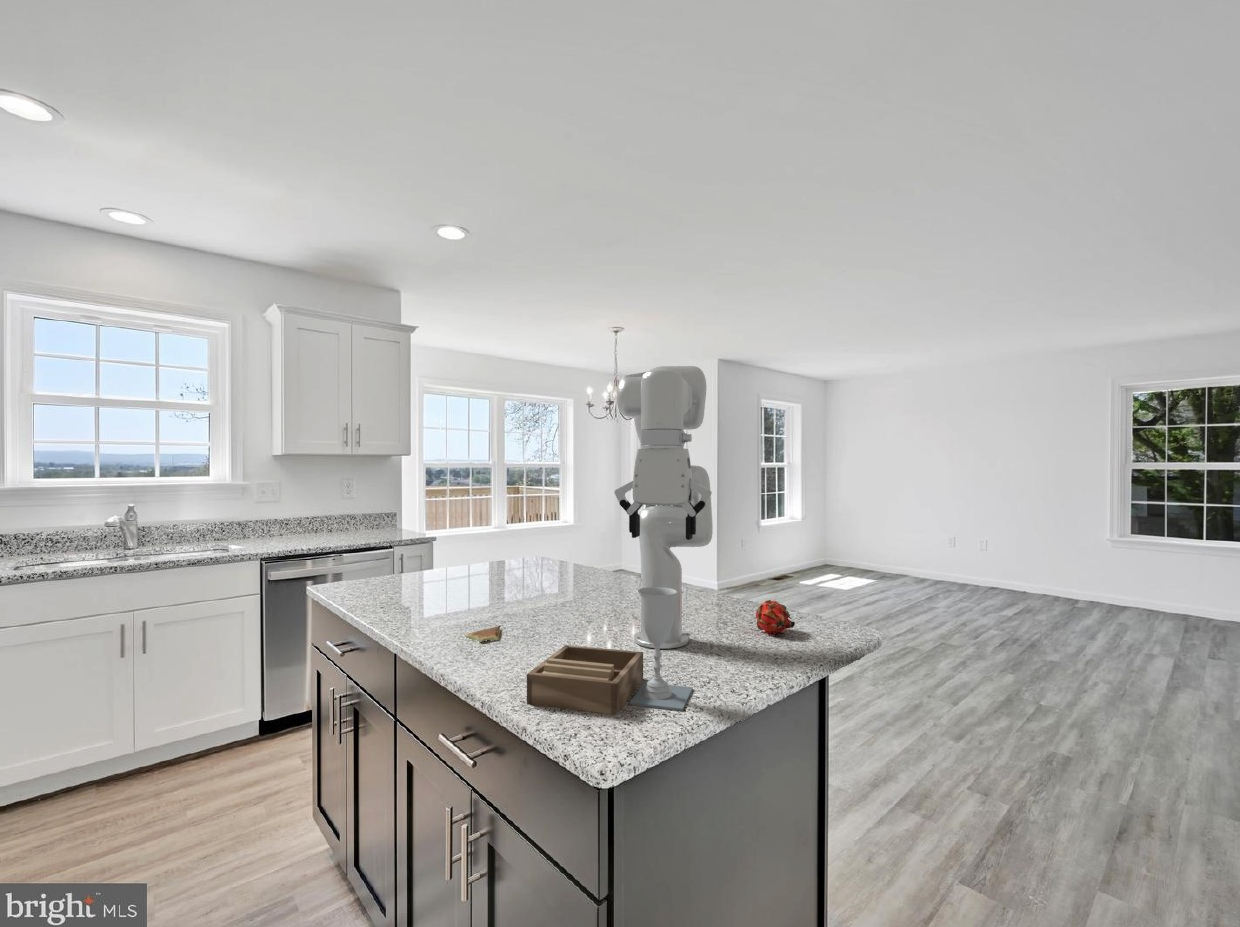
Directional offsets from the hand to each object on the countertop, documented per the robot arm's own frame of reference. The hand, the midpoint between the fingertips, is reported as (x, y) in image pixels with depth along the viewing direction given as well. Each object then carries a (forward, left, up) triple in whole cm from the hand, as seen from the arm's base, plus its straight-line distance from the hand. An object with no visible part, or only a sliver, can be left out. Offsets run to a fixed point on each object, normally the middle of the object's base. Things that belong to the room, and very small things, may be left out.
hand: (662, 537), depth 102 cm
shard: (-25, -50, -29) cm, 62 cm away
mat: (0, 0, -28) cm, 28 cm away
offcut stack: (+6, -13, -28) cm, 32 cm away
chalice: (0, -1, -28) cm, 28 cm away
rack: (+1, -13, -28) cm, 31 cm away
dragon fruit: (-48, +18, -28) cm, 58 cm away
